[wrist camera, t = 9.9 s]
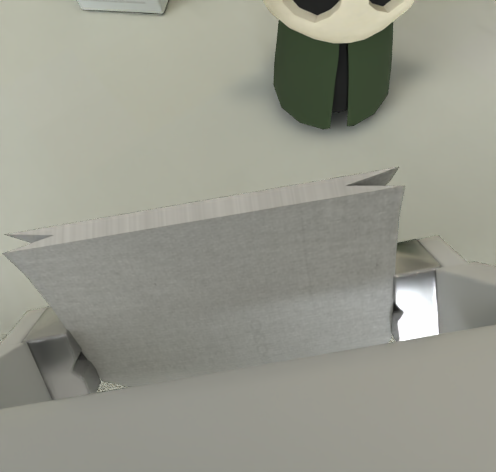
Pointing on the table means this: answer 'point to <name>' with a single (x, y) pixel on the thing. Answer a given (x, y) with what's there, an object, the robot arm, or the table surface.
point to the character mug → (333, 56)
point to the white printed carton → (224, 278)
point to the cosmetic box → (125, 5)
